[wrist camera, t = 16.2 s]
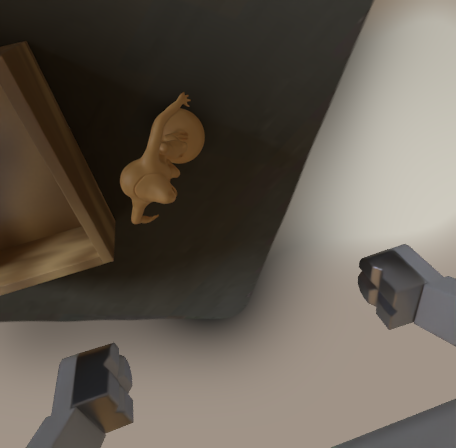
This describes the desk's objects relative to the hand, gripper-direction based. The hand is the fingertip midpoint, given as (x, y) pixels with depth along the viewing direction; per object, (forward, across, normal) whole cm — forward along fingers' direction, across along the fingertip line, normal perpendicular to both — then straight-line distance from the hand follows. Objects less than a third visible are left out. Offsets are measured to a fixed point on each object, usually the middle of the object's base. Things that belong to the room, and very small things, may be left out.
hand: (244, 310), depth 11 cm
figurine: (+20, +1, 0) cm, 20 cm away
